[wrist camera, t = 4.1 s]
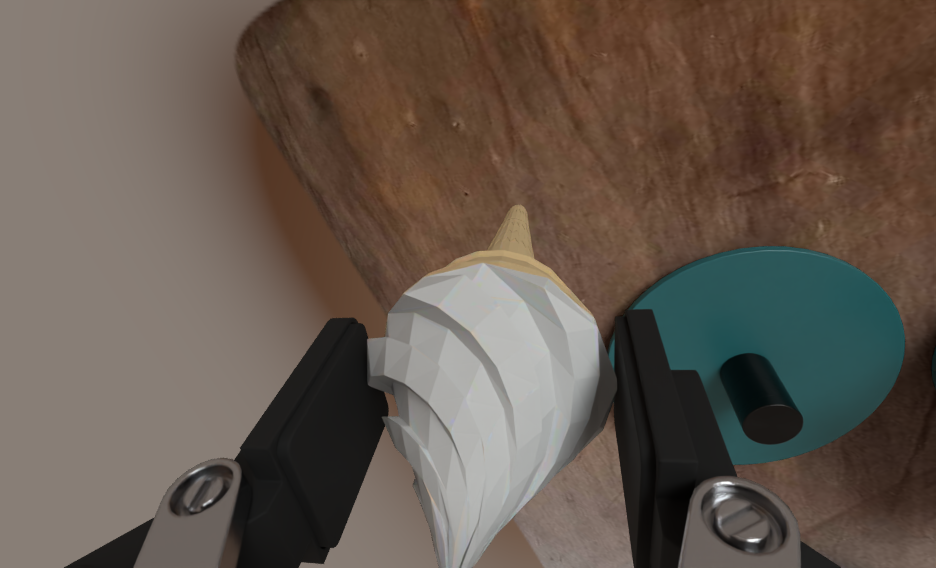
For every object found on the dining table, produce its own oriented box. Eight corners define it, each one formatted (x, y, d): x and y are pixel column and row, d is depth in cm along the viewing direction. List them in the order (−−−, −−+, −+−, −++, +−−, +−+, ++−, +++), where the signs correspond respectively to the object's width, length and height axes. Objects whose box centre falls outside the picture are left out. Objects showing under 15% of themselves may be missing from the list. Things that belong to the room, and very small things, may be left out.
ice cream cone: (470, 278, 22) (350, 683, 9) (432, 157, 19) (187, 482, 6) (598, 256, 20) (672, 704, 7) (575, 121, 18) (626, 453, 5)
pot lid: (604, 248, 26) (614, 298, 21) (931, 231, 23) (1021, 285, 18) (605, 447, 32) (612, 516, 28) (855, 454, 29) (907, 533, 25)
